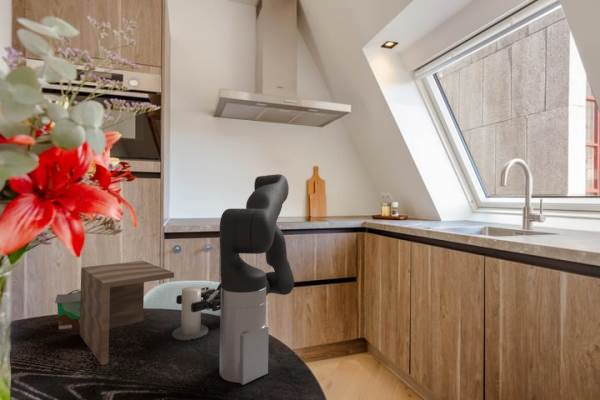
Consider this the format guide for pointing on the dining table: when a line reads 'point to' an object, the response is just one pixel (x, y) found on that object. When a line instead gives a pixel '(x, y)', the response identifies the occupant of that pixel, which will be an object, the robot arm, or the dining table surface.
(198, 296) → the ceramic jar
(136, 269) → the walnut cubby
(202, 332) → the grey coaster
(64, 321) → the food container
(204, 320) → the dining table surface
